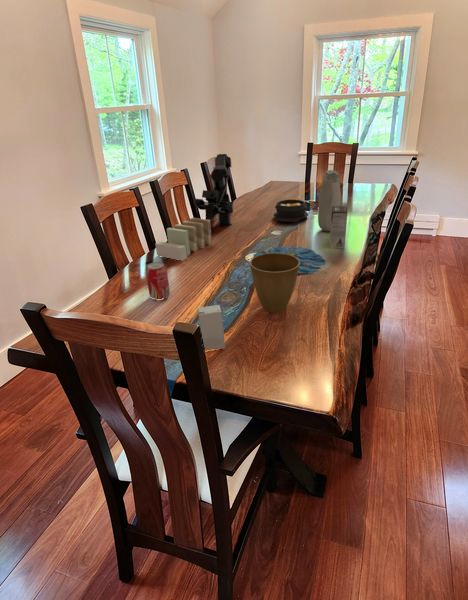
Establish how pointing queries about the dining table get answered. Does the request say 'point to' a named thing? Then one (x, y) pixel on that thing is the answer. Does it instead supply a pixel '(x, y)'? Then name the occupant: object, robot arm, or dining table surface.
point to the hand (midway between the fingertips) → (206, 221)
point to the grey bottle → (328, 198)
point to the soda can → (157, 280)
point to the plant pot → (274, 279)
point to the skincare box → (211, 327)
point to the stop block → (171, 250)
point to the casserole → (290, 210)
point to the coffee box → (338, 226)
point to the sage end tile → (179, 238)
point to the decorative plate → (300, 257)
